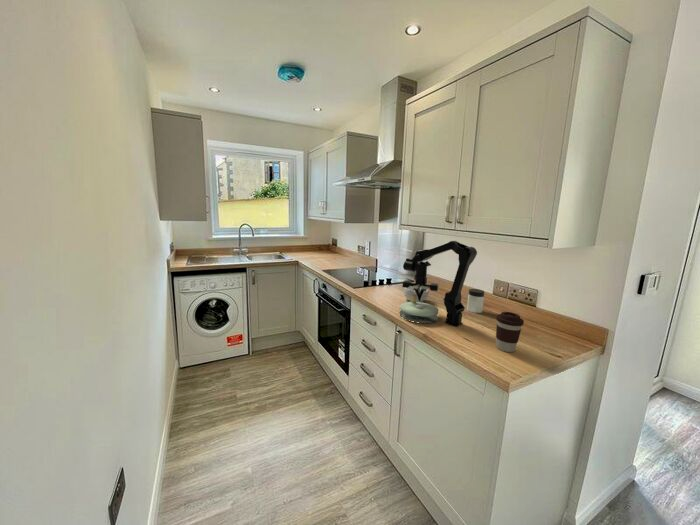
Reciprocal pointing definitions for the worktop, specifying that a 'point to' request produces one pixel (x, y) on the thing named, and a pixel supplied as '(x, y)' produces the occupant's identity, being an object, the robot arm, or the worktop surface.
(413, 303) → the handwheel
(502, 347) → the coffee cup
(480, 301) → the jar
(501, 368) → the worktop surface
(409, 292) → the paper bowls
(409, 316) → the grey metal shallow dish
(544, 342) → the worktop surface
